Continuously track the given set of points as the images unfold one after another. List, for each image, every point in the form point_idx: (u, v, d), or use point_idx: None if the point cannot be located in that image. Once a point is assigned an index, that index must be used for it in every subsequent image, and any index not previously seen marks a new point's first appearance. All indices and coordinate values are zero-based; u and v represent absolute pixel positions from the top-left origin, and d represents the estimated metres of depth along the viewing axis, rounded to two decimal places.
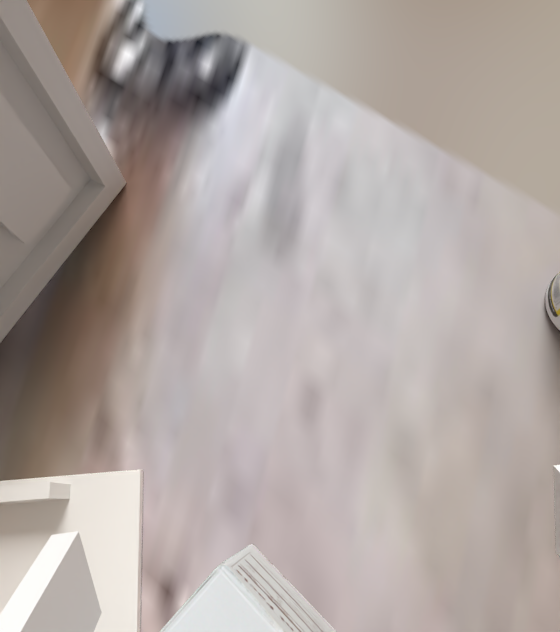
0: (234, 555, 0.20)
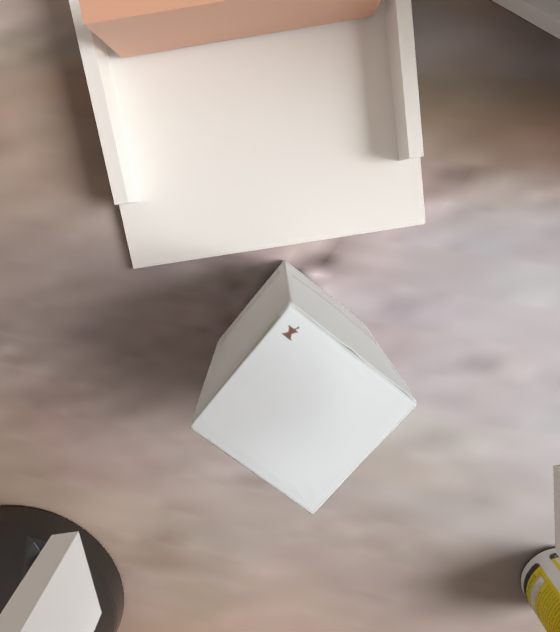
0: None
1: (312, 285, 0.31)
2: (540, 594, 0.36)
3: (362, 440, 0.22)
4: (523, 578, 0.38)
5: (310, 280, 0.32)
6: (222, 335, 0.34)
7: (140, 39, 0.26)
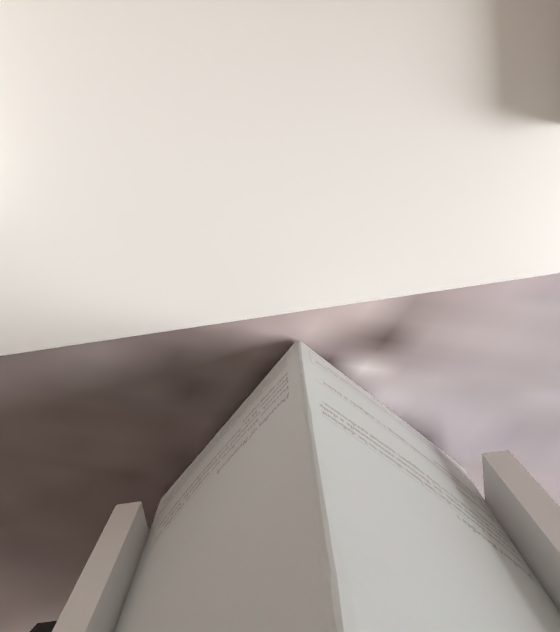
0: None
1: (364, 411, 0.13)
2: None
3: None
4: None
5: (354, 386, 0.15)
6: (168, 491, 0.16)
7: None
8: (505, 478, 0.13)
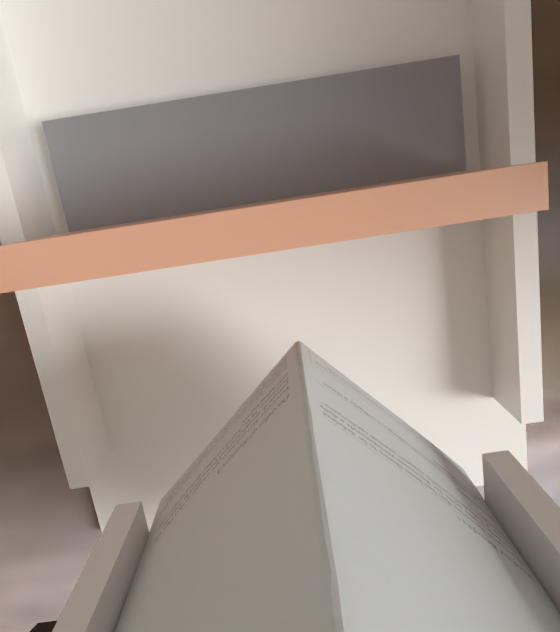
0: None
1: (364, 411, 0.13)
2: None
3: None
4: None
5: (355, 387, 0.15)
6: (168, 491, 0.16)
7: None
8: (505, 478, 0.13)
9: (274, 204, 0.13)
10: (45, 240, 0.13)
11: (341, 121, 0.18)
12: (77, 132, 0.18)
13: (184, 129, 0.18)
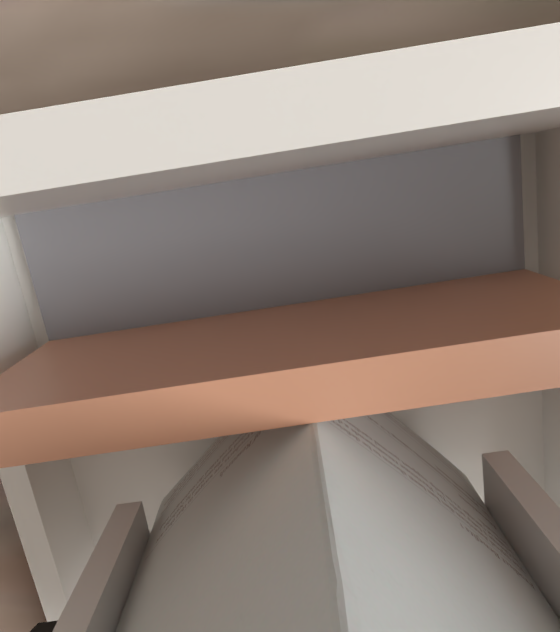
0: None
1: (368, 416, 0.13)
2: None
3: None
4: None
5: None
6: (170, 492, 0.16)
7: None
8: (505, 478, 0.13)
9: (302, 368, 0.10)
10: (6, 413, 0.10)
11: (376, 213, 0.15)
12: (57, 227, 0.15)
13: (185, 223, 0.15)
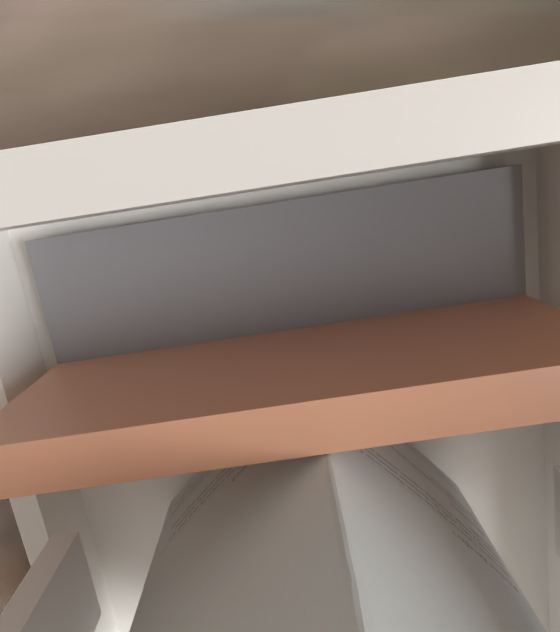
0: None
1: None
2: None
3: None
4: None
5: None
6: (179, 494, 0.17)
7: None
8: None
9: (309, 402, 0.10)
10: (20, 445, 0.10)
11: (379, 240, 0.15)
12: (67, 253, 0.15)
13: (193, 249, 0.15)
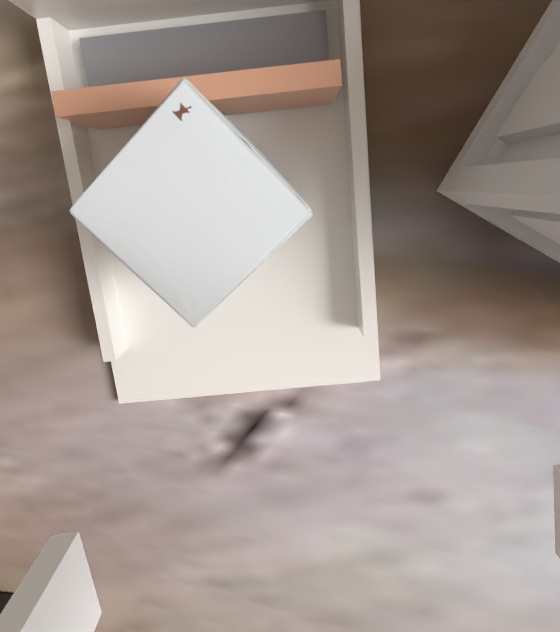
0: None
1: None
2: None
3: (251, 248, 0.21)
4: None
5: None
6: None
7: (112, 121, 0.29)
8: None
9: (200, 75, 0.25)
10: (82, 88, 0.25)
11: (256, 47, 0.30)
12: (100, 45, 0.30)
13: (162, 47, 0.30)
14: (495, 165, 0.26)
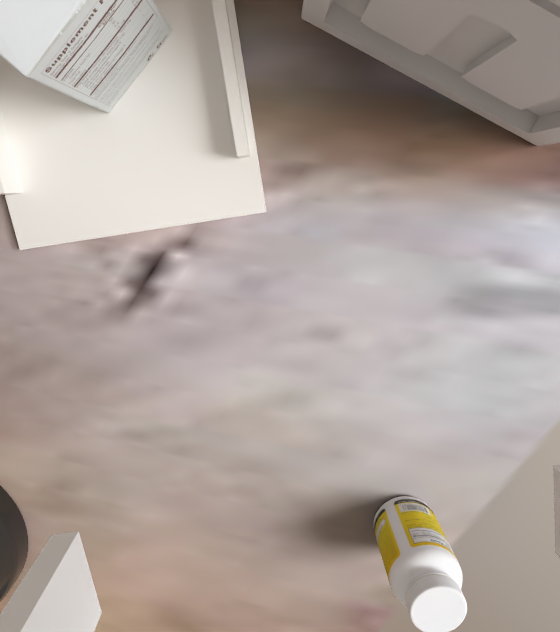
0: None
1: None
2: (380, 533, 0.42)
3: None
4: (374, 522, 0.44)
5: None
6: None
7: None
8: None
9: None
10: None
11: None
12: None
13: None
14: None
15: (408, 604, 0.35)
